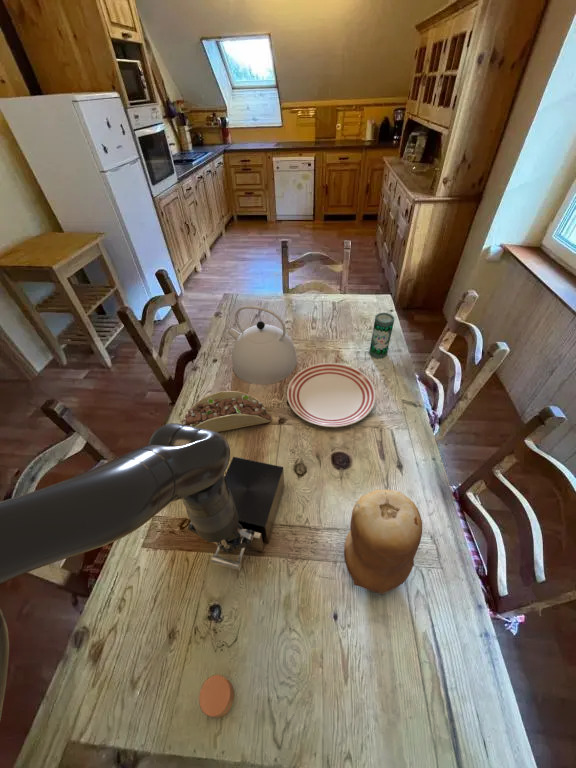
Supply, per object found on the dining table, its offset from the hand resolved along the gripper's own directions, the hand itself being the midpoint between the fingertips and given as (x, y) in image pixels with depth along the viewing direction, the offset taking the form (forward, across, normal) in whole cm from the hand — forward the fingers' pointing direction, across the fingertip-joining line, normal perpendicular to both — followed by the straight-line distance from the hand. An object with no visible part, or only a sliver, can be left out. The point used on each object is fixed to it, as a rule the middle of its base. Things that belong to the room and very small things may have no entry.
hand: (228, 548), depth 69 cm
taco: (+8, -16, +35) cm, 39 cm away
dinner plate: (+8, +13, +53) cm, 55 cm away
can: (+8, +26, +79) cm, 83 cm away
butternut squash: (+8, +29, +6) cm, 31 cm away
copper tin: (+8, +6, -21) cm, 23 cm away
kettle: (+8, -14, +65) cm, 67 cm away
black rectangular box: (+8, 0, +12) cm, 15 cm away
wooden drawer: (+7, 0, +7) cm, 10 cm away
